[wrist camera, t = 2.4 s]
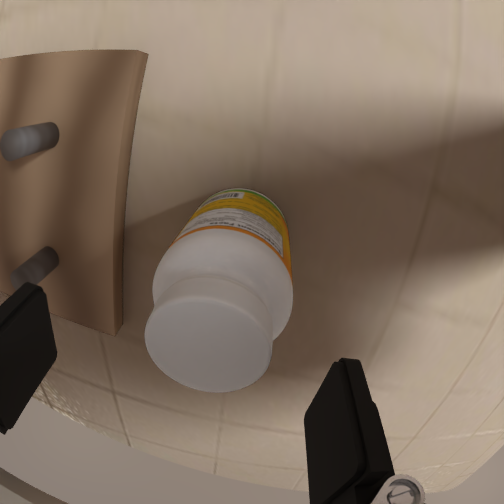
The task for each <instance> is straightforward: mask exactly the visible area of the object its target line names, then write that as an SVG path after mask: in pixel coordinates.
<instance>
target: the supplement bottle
mask: <svg viewBox="0 0 504 504" xmlns="http://www.w3.org/2000/svg"><path fill="white" fill-rule="evenodd" d="M152 292H153V301H154V309H153V311H152V313H151V315H150V316H149V318H148V320H147V323H146V327H145V334H144V337H145V344H146V348H147V350H148V353H149V355H150V357H151V358H152V360H153V362H154V363H155V364H156V365H157V367H158V368H159V369H161V370H162V371H163V372H164V373H165V374H166V375H167V376H169V377H170V378H172V379H173V380H175V381H176V382H178V383H180V384H182V385H184V386H187V387H189V388H192V389H196V390H200V391H205V392H216V393H222V392H231V391H236V390H239V389H242V388H245V387H247V386H249V385H251V384H253V383H254V382H256V381H257V380H258V379H259V378H260V377H261V376H262V375H263V374H264V373H265V371H266V370H267V368H268V366H269V363H270V360H271V356H272V343H273V341H274V340H275V339H276V338H277V337H278V336H279V335H280V333H281V332H282V331H283V329H284V328H285V326H286V324H287V322H288V320H289V318H290V315H291V311H292V305H293V283H292V270H291V256H290V243H289V233H288V227H287V223H286V220H285V218H284V216H283V214H282V212H281V211H280V209H279V208H278V207H277V205H276V204H275V203H274V202H273V201H271V200H270V199H269V198H268V197H266V196H265V195H263V194H261V193H259V192H256V191H253V190H250V189H243V188H233V189H227V190H223V191H220V192H218V193H216V194H214V195H212V196H211V197H209V198H208V199H207V200H206V201H205V202H204V203H203V204H202V205H201V206H200V207H199V208H198V209H197V210H196V212H195V213H194V214H193V216H192V217H191V218H190V220H189V221H188V222H187V224H186V225H185V226H184V228H183V229H182V231H181V232H180V233H179V235H178V236H177V237H176V239H175V240H174V241H173V243H172V244H171V245H170V247H169V248H168V250H167V251H166V253H165V254H164V256H163V257H162V259H161V261H160V263H159V265H158V267H157V269H156V272H155V275H154V279H153V287H152Z"/></svg>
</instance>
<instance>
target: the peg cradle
mask: <svg viewBox="0 0 504 504" xmlns="http://www.w3.org/2000/svg"><path fill="white" fill-rule="evenodd" d="M147 59H148V54H147V53H144V52H141V51H138V50H78V51H62V52H50V53H40V54H31V55H23V56H17V57H10V58H4V59H0V291H1V292H4V293H6V294H8V295H10V296H11V295H12V294H13V293H14V292H15V291H16V290H18V289H19V288H20V287H21V286H22V285H23V284H24V283H26V282H30V283H33V284H36V285H38V286H41V287H42V288H43V291H44V292H45V293H46V295H47V301H48V308H49V312H50V313H52V314H55V315H57V316H60V317H62V318H65V319H67V320H70V321H73V322H75V323H78V324H81V325H83V326H86V327H89V328H92V329H95V330H97V331H100V332H103V333H106V334H109V335H112V336H115V335H116V334H117V332H118V331H119V329H120V327H121V326H122V324H123V311H122V272H123V240H124V222H125V207H126V195H127V184H128V174H129V165H130V157H131V149H132V142H133V135H134V128H135V121H136V115H137V109H138V104H139V98H140V93H141V87H142V82H143V77H144V72H145V68H146V63H147Z"/></svg>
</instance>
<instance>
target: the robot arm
mask: <svg viewBox="0 0 504 504" xmlns="http://www.w3.org/2000/svg"><path fill="white" fill-rule="evenodd" d="M56 357H57V349H56V344H55V340H54V335H53V330H52V325H51V319H50V314H49V308H48V301H47V295H46V293H45V292H44V291H43V288H42V287H41V286H38V285H36V284H33V283H30V282H26V283H24V284H23V285H22V286H21V287H20V288H19V289H18V290H16V291H15V292H14V293H13V294H12V295H11V296H10V297H9V298H8V299H7V300H6V301H5V302H4V303H3V304H2V305H1V306H0V432H1V433H3V434H5V433H6V432H7V430H8V429H11V428H13V426H14V425H15V423H16V421H17V420H18V418H19V416H20V415H21V413H22V411H23V410H24V408H25V406H26V405H27V403H28V402H29V400H30V398H31V397H32V395H33V394H34V392H35V390H36V389H37V387H38V386H39V384H40V383H41V381H42V380H43V378H44V377H45V375H46V374H47V372H48V371H49V369H50V368H51V366H52V365H53V363H54V362H55V360H56ZM304 427H305V440H306V453H307V467H308V481H309V497H310V504H425V503H424V501H425V492H424V489H423V487H422V485H421V484H420V483H419V481H417V480H416V479H415V478H414V477H411V476H409V475H404V474H399V475H395V473H394V469H393V465H392V461H391V457H390V453H389V449H388V445H387V441H386V437H385V434H384V430H383V426H382V423H381V419H380V416H379V412H378V409H377V406H376V404H375V403H374V402H373V401H372V398H371V395H370V391H369V388H368V385H367V381H366V378H365V375H364V371H363V368H362V365H361V362H360V361H359V360H356V359H348V358H341V359H340V360H339V361H338V362H334V363H333V364H332V366H331V368H330V370H329V372H328V374H327V375H326V377H325V379H324V381H323V383H322V385H321V386H320V388H319V390H318V392H317V394H316V395H315V397H314V399H313V401H312V402H311V404H310V406H309V408H308V409H307V411H306V413H305V417H304ZM0 504H68V503H66V502H64V501H62V500H59V499H57V498H55V497H53V496H51V495H49V494H47V493H45V492H43V491H41V490H39V489H37V488H35V487H33V486H31V485H29V484H28V483H26V482H24V481H22V480H20V479H18V478H17V477H15V476H13V475H12V474H10V473H8V472H7V471H5V470H4V469H2V468H0Z"/></svg>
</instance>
